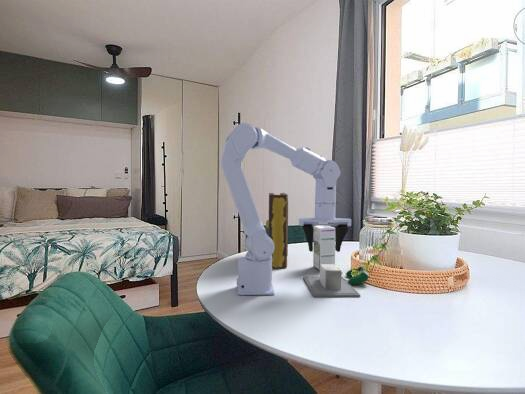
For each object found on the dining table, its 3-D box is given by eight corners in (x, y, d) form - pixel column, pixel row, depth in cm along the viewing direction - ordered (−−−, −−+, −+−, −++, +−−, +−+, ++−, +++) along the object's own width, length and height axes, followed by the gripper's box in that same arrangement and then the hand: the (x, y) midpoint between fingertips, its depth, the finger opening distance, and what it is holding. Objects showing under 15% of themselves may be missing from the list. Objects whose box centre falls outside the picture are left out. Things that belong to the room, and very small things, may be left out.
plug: (325, 289, 80) (326, 271, 80) (317, 278, 90) (318, 261, 89) (340, 289, 80) (341, 270, 80) (331, 278, 90) (331, 261, 90)
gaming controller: (356, 292, 86) (372, 279, 84) (346, 282, 86) (363, 268, 85) (353, 282, 95) (367, 270, 94) (344, 273, 95) (359, 260, 94)
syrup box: (335, 270, 100) (336, 227, 100) (319, 271, 99) (320, 227, 98) (327, 265, 106) (328, 224, 105) (312, 266, 105) (313, 225, 104)
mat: (314, 297, 77) (314, 294, 77) (303, 278, 92) (303, 276, 92) (360, 296, 77) (360, 294, 77) (342, 278, 92) (342, 276, 92)
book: (290, 268, 102) (291, 195, 100) (265, 268, 102) (266, 194, 101) (286, 253, 124) (287, 192, 123) (265, 253, 124) (266, 192, 123)
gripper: (302, 203, 81) (301, 254, 81) (355, 204, 81) (354, 254, 82) (298, 202, 88) (297, 248, 88) (347, 202, 88) (346, 248, 89)
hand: (324, 250), depth 85 cm, fingers open, 7 cm apart
